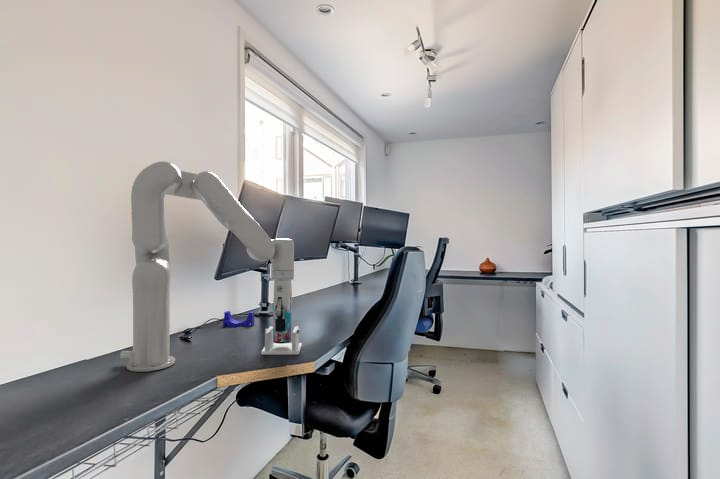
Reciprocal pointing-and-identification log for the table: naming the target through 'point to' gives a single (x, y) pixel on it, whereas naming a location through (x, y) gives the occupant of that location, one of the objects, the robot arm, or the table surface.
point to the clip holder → (281, 348)
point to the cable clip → (231, 322)
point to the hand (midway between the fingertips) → (281, 328)
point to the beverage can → (285, 335)
